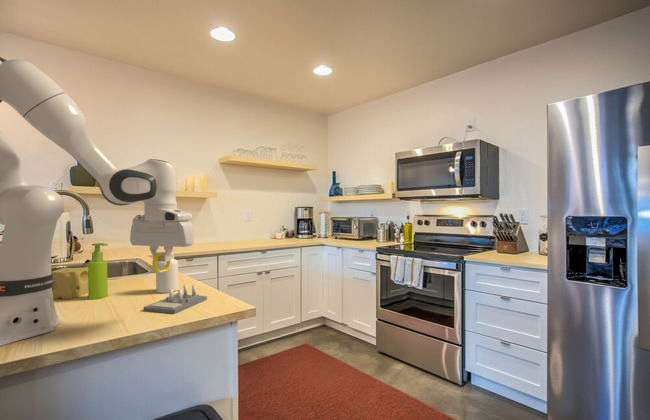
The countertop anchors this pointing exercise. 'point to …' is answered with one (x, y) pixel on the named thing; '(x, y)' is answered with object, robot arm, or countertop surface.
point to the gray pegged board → (176, 301)
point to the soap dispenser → (97, 274)
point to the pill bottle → (167, 276)
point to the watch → (154, 262)
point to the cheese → (70, 282)
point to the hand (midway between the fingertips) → (161, 261)
